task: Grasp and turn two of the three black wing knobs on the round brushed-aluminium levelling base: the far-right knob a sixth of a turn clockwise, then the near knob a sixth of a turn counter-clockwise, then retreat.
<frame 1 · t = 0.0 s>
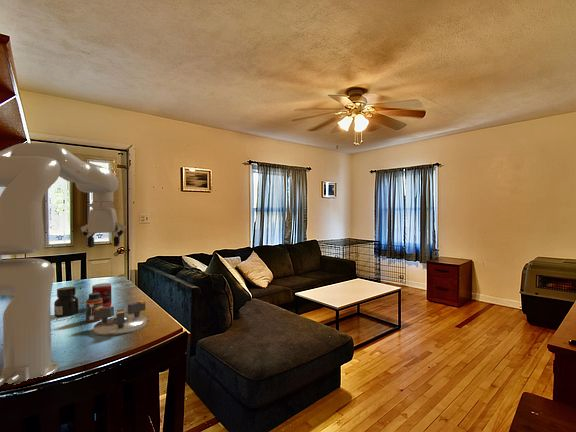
hand: (103, 246, 123), 31 cm above the table, fingers open, 9 cm apart
supplement bottle: (94, 320, 124), on the table
ink bottle: (66, 314, 133), on the table
canned food: (102, 307, 144), on the table
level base: (121, 327, 114), on the table
knob a: (136, 309, 120), point 5 cm above the table, hinge at 0.0°
knob b: (104, 314, 115), point 5 cm above the table, hinge at 0.0°
knob c: (120, 318, 109), point 5 cm above the table, hinge at 0.0°
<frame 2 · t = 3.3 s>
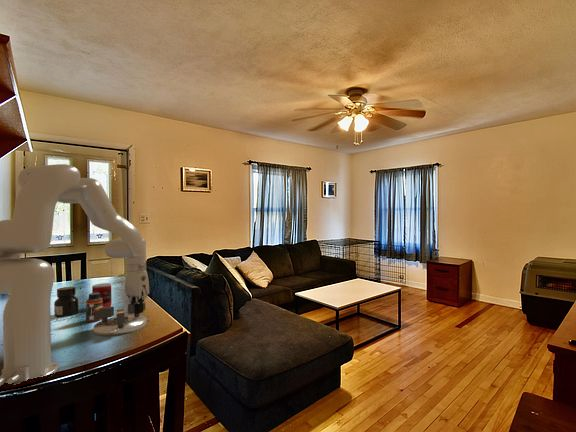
hand: (136, 312, 120), 4 cm above the table, fingers closed on knob a, 2 cm apart
knob a: (136, 309, 120), point 5 cm above the table, hinge at 0.0°, touching gripper
everything else where it was.
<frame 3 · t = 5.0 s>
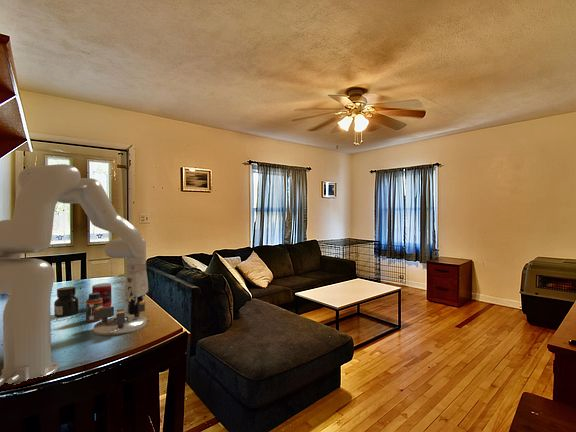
hand: (136, 312, 120), 4 cm above the table, fingers open, 4 cm apart
knob a: (136, 309, 120), point 5 cm above the table, hinge at -37.9°
everything else where it was.
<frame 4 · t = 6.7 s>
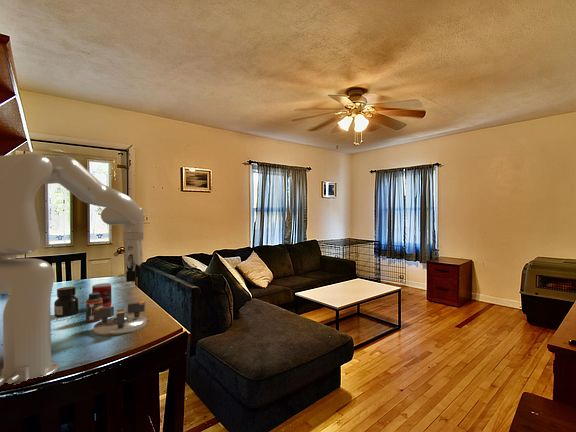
hand: (133, 279, 118), 18 cm above the table, fingers open, 9 cm apart
knob a: (136, 309, 120), point 5 cm above the table, hinge at -44.0°
everything else where it was.
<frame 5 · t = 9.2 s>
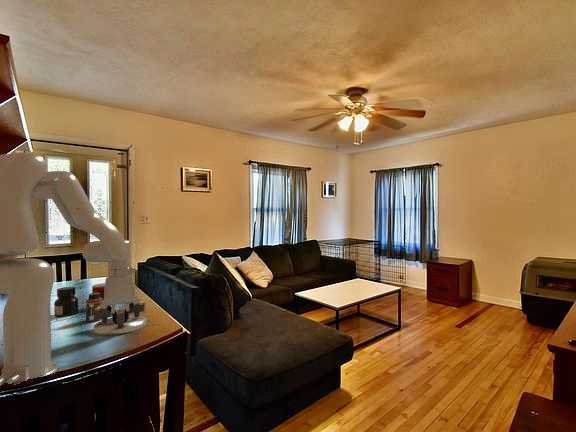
hand: (120, 321, 109), 4 cm above the table, fingers closed on knob c, 2 cm apart
knob a: (136, 309, 120), point 5 cm above the table, hinge at -45.7°
knob c: (120, 318, 109), point 5 cm above the table, hinge at 0.0°, touching gripper
everything else where it was.
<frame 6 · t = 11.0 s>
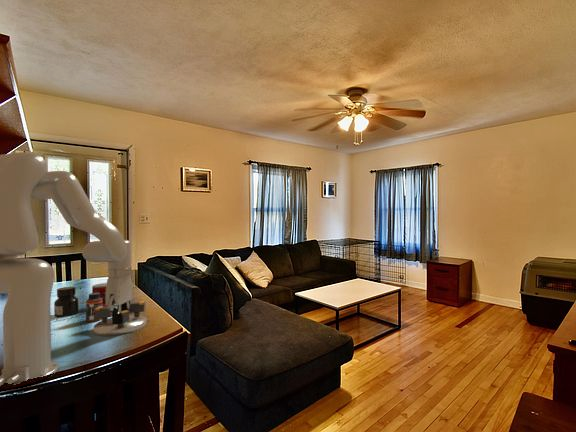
hand: (120, 321, 109), 4 cm above the table, fingers closed on knob c, 3 cm apart
knob c: (120, 318, 109), point 5 cm above the table, hinge at 38.1°, touching gripper
everything else where it was.
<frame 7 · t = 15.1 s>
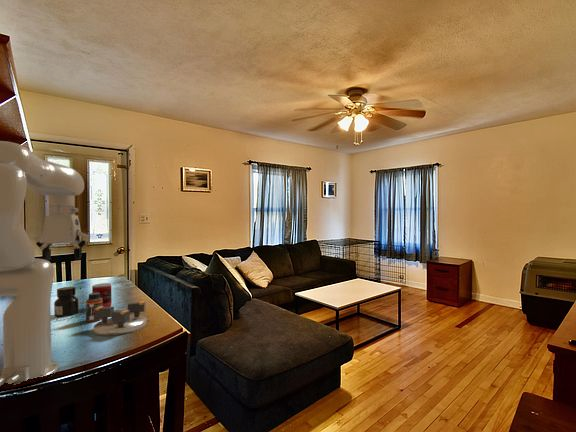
hand: (62, 260, 103), 28 cm above the table, fingers open, 9 cm apart
knob c: (120, 318, 109), point 5 cm above the table, hinge at 46.2°
everything else where it was.
at the end: knob a at -46° (first picture: +0°); knob c at +46° (first picture: +0°) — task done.
